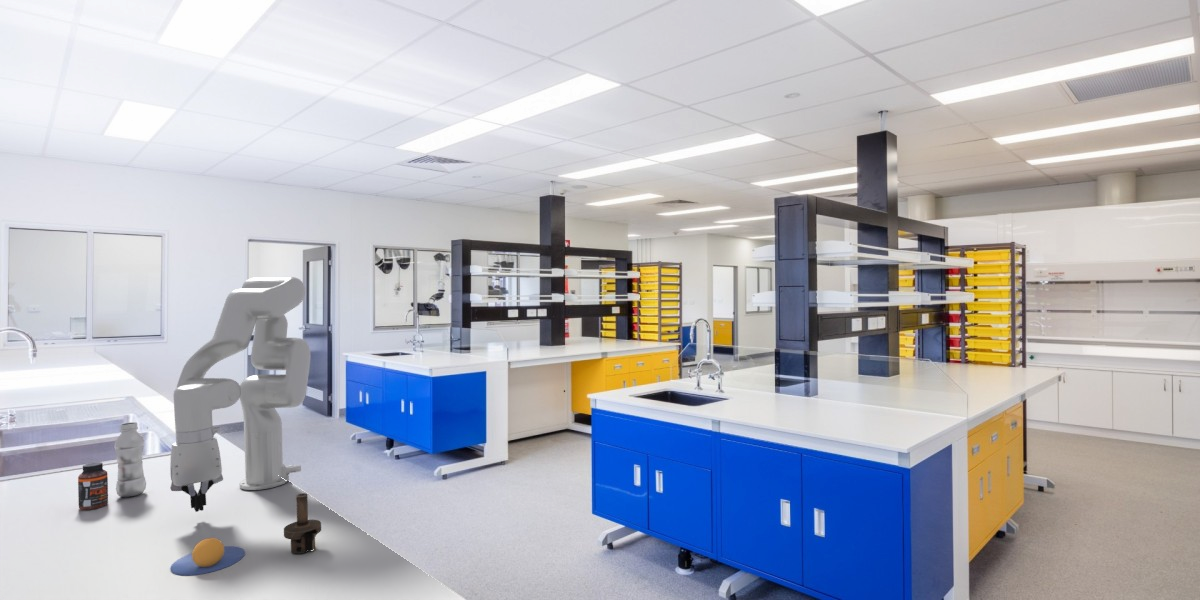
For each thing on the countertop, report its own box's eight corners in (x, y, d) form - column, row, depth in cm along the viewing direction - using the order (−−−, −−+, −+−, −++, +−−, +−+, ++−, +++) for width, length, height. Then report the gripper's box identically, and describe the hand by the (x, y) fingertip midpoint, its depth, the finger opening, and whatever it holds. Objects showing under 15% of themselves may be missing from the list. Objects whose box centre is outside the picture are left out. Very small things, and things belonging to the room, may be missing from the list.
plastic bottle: (152, 492, 169) (149, 421, 168) (126, 501, 162) (123, 427, 162) (136, 490, 171) (133, 420, 170) (110, 498, 164) (107, 425, 164)
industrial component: (327, 550, 130) (326, 494, 130) (291, 561, 125) (290, 503, 125) (311, 537, 137) (309, 485, 136) (276, 547, 132) (275, 493, 131)
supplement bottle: (91, 511, 155) (89, 468, 155) (72, 510, 156) (71, 466, 156) (114, 503, 161) (112, 461, 160) (96, 502, 162) (94, 460, 162)
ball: (224, 567, 125) (221, 543, 128) (227, 554, 122) (224, 530, 125) (192, 575, 122) (190, 550, 125) (194, 562, 119) (192, 536, 122)
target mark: (238, 541, 135) (238, 540, 135) (250, 561, 125) (250, 560, 125) (167, 559, 127) (167, 558, 127) (174, 582, 117) (174, 581, 117)
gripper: (227, 426, 155) (231, 497, 156) (155, 438, 145) (159, 513, 146) (233, 432, 149) (236, 505, 150) (158, 445, 139) (162, 523, 140)
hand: (198, 509), depth 148 cm, fingers closed
